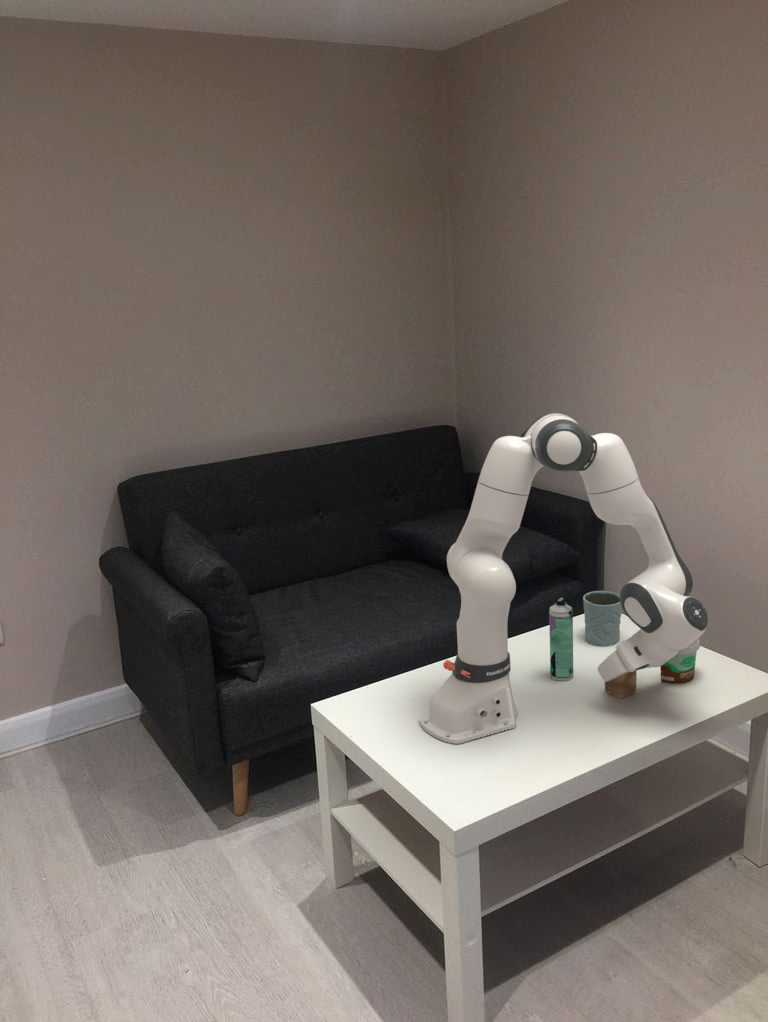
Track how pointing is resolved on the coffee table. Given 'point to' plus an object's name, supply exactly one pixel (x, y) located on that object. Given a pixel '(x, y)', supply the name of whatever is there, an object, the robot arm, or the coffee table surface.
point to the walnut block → (622, 685)
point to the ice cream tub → (680, 665)
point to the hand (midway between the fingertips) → (618, 672)
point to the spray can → (561, 641)
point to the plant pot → (602, 617)
